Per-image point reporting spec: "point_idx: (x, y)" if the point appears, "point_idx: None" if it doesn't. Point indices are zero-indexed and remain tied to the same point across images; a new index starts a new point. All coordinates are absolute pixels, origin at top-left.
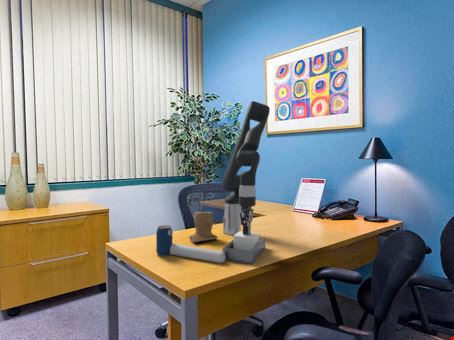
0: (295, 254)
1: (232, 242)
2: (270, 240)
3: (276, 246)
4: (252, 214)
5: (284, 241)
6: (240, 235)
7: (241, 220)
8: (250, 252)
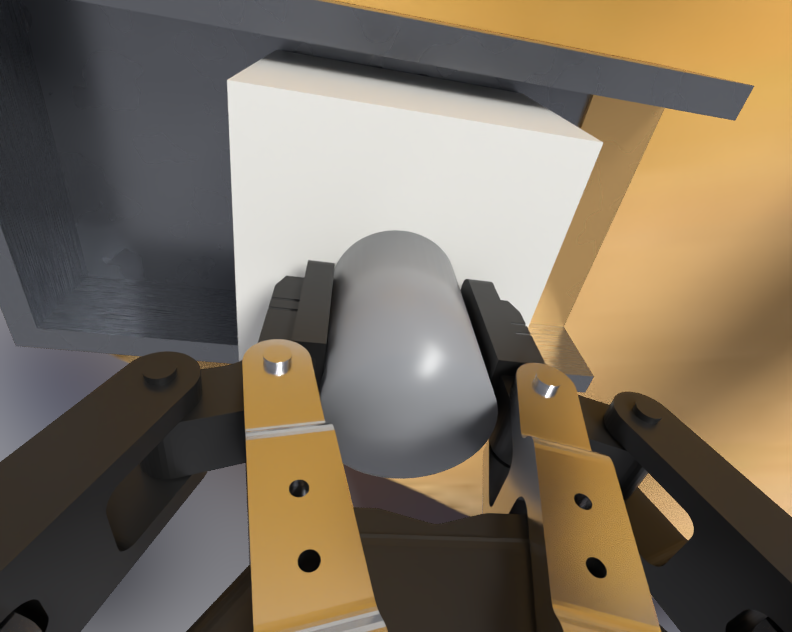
0: (420, 484)
1: (293, 39)
2: (776, 345)
3: (593, 392)
4: (695, 624)
5: (722, 427)
6: (289, 210)
7: (16, 472)
8: (14, 321)
